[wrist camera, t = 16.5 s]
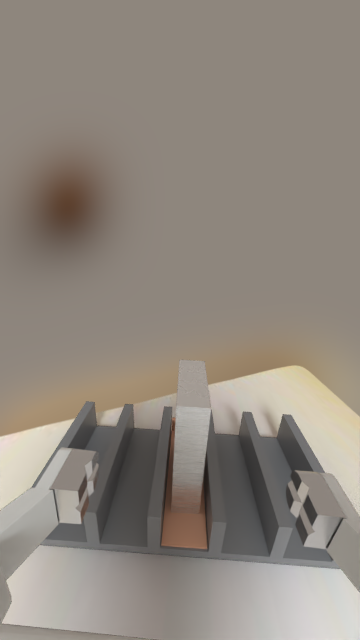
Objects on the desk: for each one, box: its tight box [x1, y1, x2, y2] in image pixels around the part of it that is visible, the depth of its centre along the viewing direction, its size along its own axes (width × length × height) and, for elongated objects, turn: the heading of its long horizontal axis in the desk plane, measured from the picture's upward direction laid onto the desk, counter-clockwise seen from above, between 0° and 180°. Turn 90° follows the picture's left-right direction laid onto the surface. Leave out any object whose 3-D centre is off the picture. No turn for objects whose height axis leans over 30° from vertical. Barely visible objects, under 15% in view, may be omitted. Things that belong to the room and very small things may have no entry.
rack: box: [31, 402, 341, 569], centre depth 27 cm, size 30×15×6 cm, turn 88°
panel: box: [171, 360, 211, 514], centre depth 25 cm, size 3×8×14 cm, turn 178°
